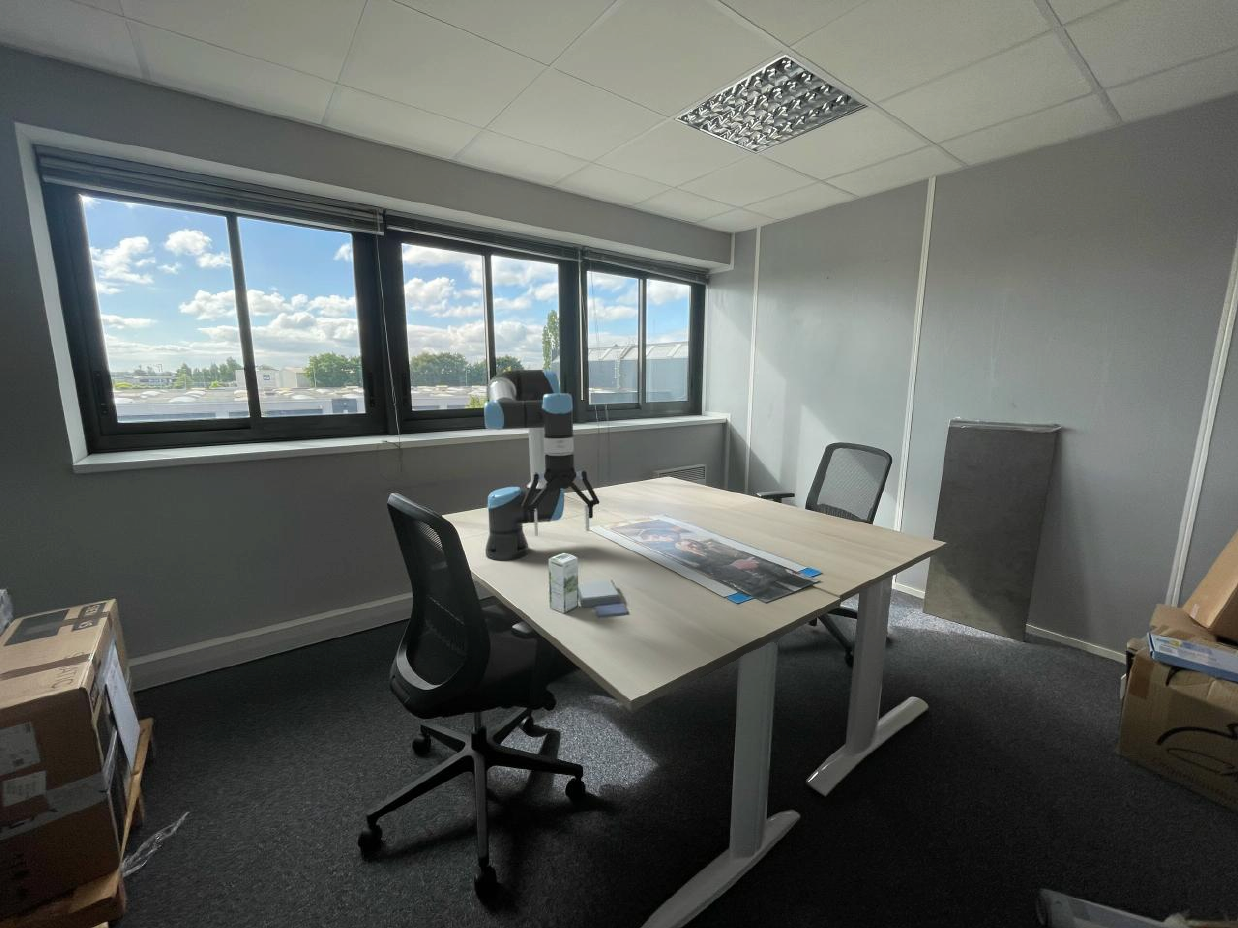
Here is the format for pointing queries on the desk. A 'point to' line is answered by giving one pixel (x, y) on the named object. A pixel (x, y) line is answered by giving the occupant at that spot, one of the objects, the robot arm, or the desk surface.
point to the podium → (598, 593)
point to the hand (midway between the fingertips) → (562, 532)
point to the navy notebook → (611, 610)
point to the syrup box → (563, 582)
